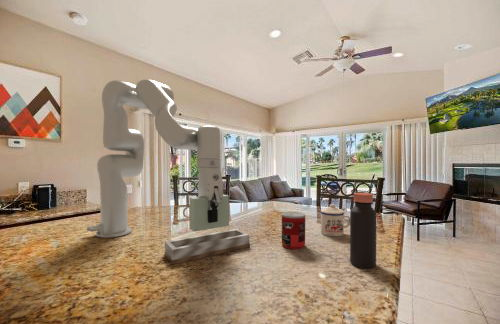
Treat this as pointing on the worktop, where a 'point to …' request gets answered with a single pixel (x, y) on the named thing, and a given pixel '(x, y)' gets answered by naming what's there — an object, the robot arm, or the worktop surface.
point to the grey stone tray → (205, 245)
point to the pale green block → (200, 213)
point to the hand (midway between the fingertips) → (209, 220)
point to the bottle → (363, 232)
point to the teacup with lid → (333, 221)
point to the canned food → (293, 230)
